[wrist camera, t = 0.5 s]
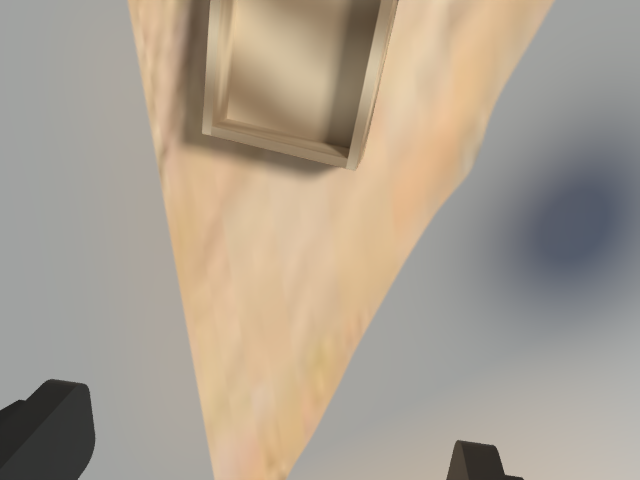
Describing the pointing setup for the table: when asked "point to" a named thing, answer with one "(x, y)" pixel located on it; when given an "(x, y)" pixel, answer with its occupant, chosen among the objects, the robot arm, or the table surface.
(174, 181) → the table surface
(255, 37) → the oak tray
